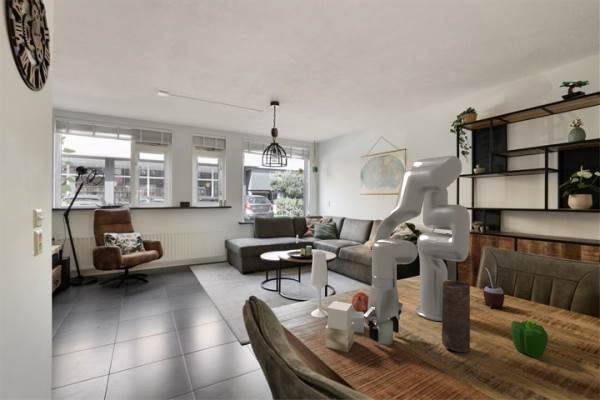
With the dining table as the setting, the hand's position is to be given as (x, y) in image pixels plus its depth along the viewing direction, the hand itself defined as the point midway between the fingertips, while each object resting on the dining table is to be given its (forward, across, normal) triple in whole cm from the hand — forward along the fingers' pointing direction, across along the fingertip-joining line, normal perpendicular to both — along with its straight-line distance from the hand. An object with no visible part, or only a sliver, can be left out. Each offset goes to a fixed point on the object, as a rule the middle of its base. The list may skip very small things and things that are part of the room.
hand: (384, 335), depth 88 cm
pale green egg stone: (+2, 0, 0) cm, 2 cm away
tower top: (-4, +13, -6) cm, 15 cm away
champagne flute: (+2, +4, -28) cm, 28 cm away
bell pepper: (+2, -29, +28) cm, 41 cm away
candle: (+2, -14, +15) cm, 20 cm away
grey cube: (+2, +2, -11) cm, 11 cm away
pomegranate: (+2, -11, -20) cm, 23 cm away
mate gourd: (+2, -59, +8) cm, 59 cm away
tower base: (+2, +13, -6) cm, 15 cm away
